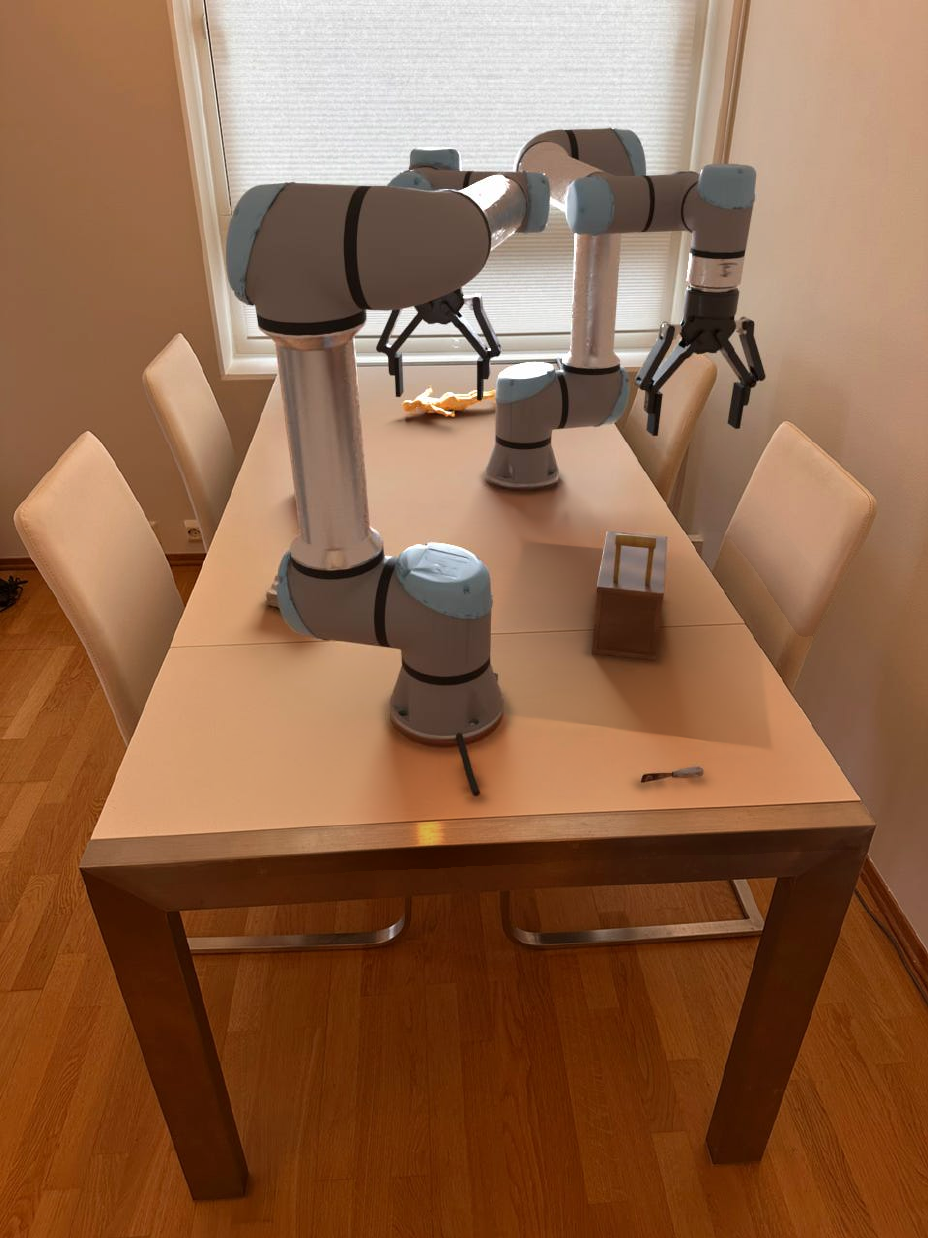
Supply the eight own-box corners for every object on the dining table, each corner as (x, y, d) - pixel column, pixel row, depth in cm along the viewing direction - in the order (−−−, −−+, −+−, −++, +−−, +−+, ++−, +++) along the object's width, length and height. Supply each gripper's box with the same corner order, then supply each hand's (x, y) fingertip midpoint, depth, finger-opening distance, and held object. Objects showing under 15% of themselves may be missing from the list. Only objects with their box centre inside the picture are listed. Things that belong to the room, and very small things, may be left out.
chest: (655, 660, 131) (663, 597, 125) (591, 653, 133) (596, 590, 127) (659, 602, 145) (666, 542, 140) (601, 596, 147) (606, 536, 141)
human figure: (395, 413, 223) (394, 398, 221) (438, 390, 237) (438, 375, 235) (462, 429, 215) (462, 413, 213) (502, 404, 229) (503, 388, 227)
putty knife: (703, 777, 109) (705, 767, 109) (642, 788, 108) (644, 777, 107) (700, 772, 110) (702, 762, 109) (639, 782, 109) (640, 771, 108)
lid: (663, 599, 125) (670, 546, 120) (596, 592, 126) (600, 540, 122) (666, 541, 140) (673, 493, 135) (606, 536, 141) (611, 488, 137)
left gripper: (520, 258, 139) (516, 392, 150) (364, 254, 142) (372, 386, 153) (515, 267, 132) (512, 406, 143) (352, 263, 136) (361, 400, 147)
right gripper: (640, 296, 122) (626, 444, 133) (806, 287, 126) (778, 431, 137) (620, 285, 128) (608, 427, 139) (779, 276, 132) (755, 415, 144)
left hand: (439, 396), depth 148 cm, fingers open, 13 cm apart
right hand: (693, 429), depth 138 cm, fingers open, 13 cm apart
